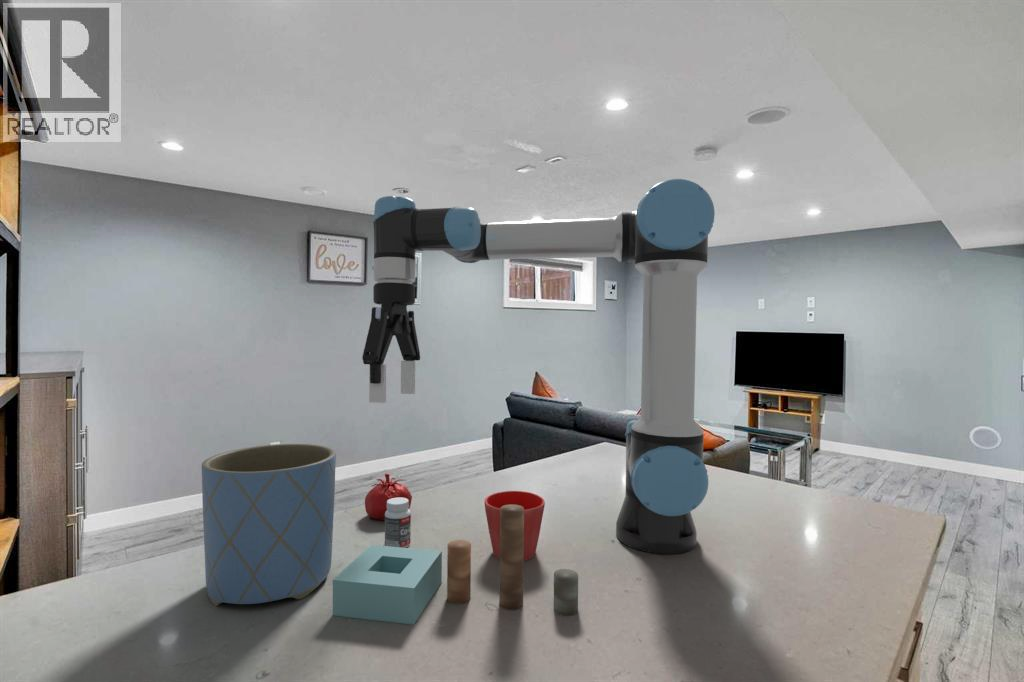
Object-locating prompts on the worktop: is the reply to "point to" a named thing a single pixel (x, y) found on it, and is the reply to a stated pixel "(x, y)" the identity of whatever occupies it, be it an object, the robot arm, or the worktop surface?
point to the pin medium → (459, 571)
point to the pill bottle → (397, 523)
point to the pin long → (511, 556)
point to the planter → (267, 522)
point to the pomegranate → (384, 497)
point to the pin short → (566, 592)
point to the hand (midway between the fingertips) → (393, 397)
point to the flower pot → (531, 518)
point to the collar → (388, 584)
